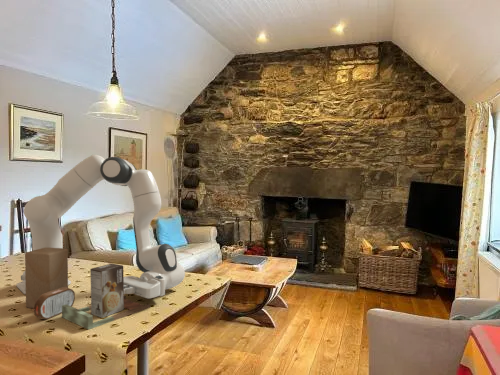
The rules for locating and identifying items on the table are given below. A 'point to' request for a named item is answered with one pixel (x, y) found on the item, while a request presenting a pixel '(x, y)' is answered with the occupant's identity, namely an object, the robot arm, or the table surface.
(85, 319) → the brown low open piece
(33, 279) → the wooden block
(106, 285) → the coffee box
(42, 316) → the tin
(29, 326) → the table surface
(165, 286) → the robot arm
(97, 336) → the table surface
